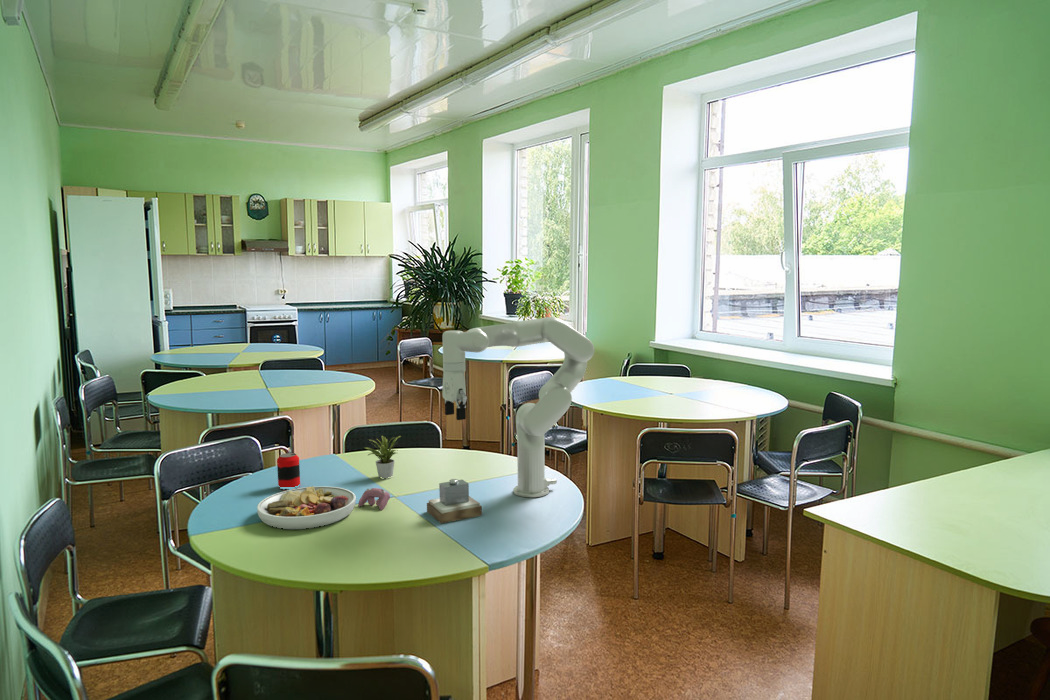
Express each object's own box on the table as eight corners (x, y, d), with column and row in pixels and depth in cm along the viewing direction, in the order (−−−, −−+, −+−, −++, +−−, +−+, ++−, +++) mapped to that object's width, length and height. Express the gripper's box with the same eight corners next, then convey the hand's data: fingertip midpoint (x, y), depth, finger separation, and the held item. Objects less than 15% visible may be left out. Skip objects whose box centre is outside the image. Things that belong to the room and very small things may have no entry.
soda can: (302, 488, 241) (301, 455, 240) (281, 491, 237) (279, 459, 236) (297, 482, 248) (295, 451, 246) (276, 486, 243) (274, 454, 242)
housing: (439, 501, 214) (439, 480, 213) (462, 497, 217) (462, 476, 217) (445, 506, 209) (445, 484, 208) (468, 501, 213) (468, 480, 212)
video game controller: (388, 512, 220) (393, 490, 223) (381, 510, 216) (386, 488, 219) (363, 508, 224) (368, 487, 226) (356, 506, 220) (361, 485, 222)
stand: (466, 504, 222) (466, 492, 222) (481, 515, 212) (481, 503, 211) (426, 511, 216) (426, 499, 215) (441, 523, 205) (440, 511, 205)
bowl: (236, 526, 205) (235, 501, 204) (300, 496, 233) (299, 474, 232) (317, 538, 195) (316, 512, 194) (374, 505, 223) (373, 483, 222)
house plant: (388, 468, 265) (387, 428, 263) (413, 474, 257) (412, 433, 255) (360, 477, 253) (358, 435, 252) (385, 484, 245) (384, 440, 243)
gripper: (434, 365, 230) (435, 413, 232) (454, 371, 215) (455, 423, 217) (454, 363, 234) (455, 411, 236) (475, 369, 219) (476, 420, 221)
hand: (455, 417), depth 226 cm, fingers open, 9 cm apart
